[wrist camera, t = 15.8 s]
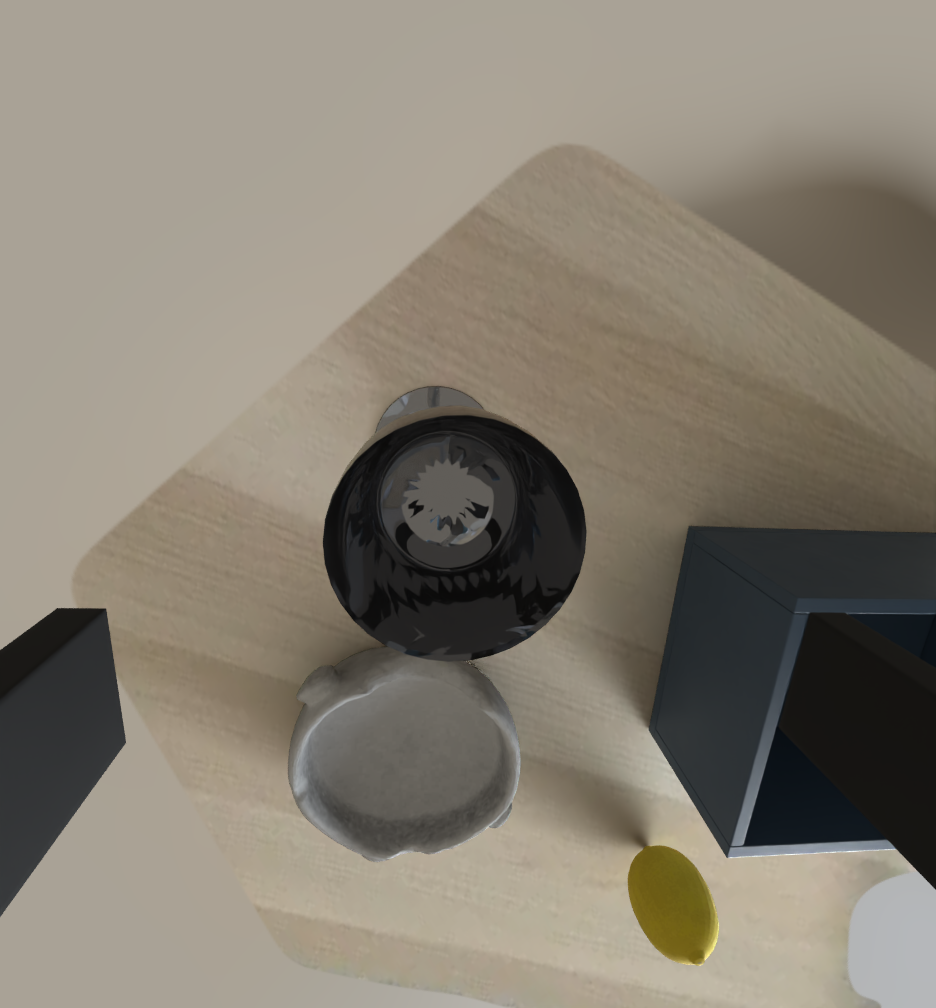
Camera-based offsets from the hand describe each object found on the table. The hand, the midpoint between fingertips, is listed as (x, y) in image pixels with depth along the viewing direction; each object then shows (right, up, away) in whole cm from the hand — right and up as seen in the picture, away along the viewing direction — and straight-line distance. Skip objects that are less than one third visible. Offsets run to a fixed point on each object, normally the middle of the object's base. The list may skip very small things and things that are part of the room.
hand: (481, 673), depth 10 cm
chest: (+23, -6, +26) cm, 35 cm away
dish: (-4, -12, +25) cm, 28 cm away
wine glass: (-2, +6, +20) cm, 21 cm away
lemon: (+14, -24, +31) cm, 42 cm away
